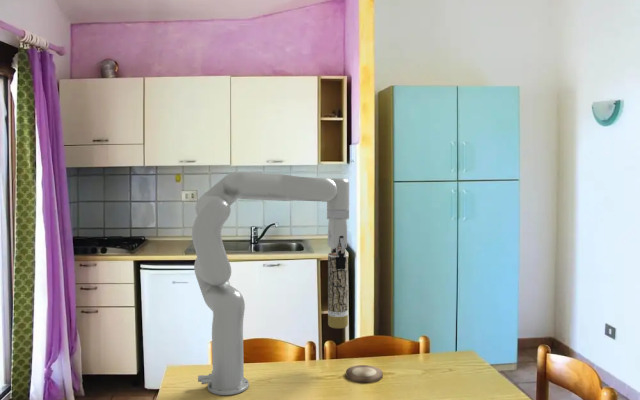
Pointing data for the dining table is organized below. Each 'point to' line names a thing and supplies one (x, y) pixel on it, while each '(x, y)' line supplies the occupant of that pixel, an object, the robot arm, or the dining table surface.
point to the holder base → (364, 374)
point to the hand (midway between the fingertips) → (337, 266)
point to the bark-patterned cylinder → (337, 293)
